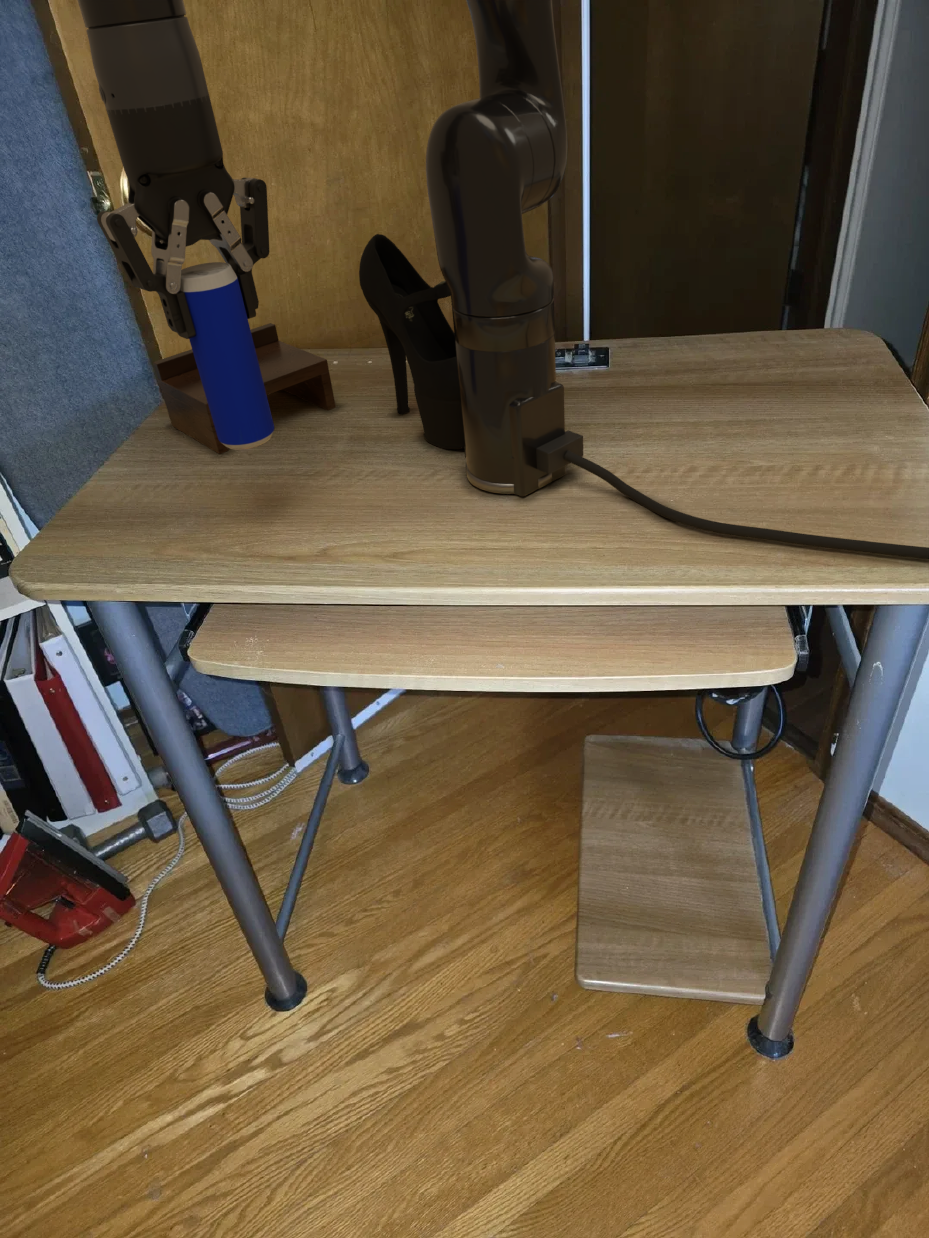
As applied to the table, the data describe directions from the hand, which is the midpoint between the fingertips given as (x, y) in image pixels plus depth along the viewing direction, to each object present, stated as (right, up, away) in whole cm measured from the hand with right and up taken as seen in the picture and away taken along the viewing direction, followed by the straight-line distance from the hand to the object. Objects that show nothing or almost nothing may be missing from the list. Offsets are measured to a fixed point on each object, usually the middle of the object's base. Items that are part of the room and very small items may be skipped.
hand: (217, 325), depth 75 cm
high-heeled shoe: (+18, -4, +25) cm, 31 cm away
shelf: (-5, 0, +32) cm, 33 cm away
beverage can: (+1, -9, +6) cm, 11 cm away
